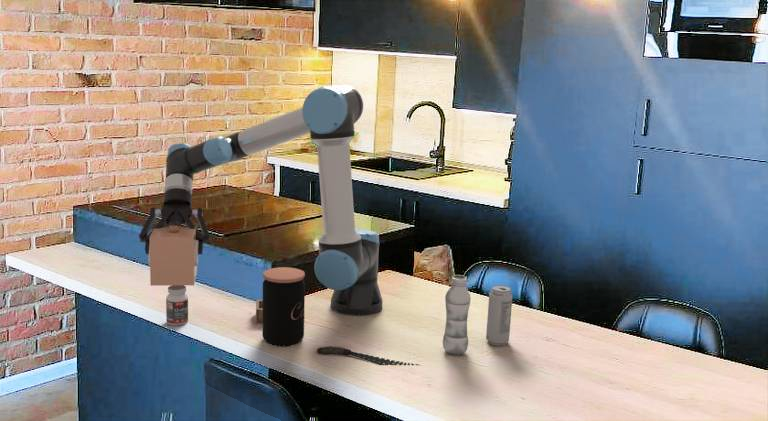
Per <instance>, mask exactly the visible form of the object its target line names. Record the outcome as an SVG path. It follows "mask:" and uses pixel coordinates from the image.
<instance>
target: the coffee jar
mask: <svg viewBox="0 0 768 421" xmlns="http://www.w3.org/2000/svg"><path fill="white" fill-rule="evenodd" d="M262 277H263V279H264V280H263V281H262V300H263V323H262V331H261V332H262V337H263V340H264V342H265V343H266V344H268V345H270V346H274V347H290V346H291V347H292V346H296V345H298V344H299V343H301V341H302V339H304V336H305V302H306V301H305V297H306V296H305V294H306V290H305V288H306V283H305V280H304V279H305V277H306V273H305V271H304V270H302V269H299V268H295V267H288V266H287V267H284V266H282V267H279V266H278V267H273V268H269V269H268V268H267V269H266V270H264V271H263V272H262Z"/></svg>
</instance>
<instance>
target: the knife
mask: <svg viewBox="0 0 768 421" xmlns="http://www.w3.org/2000/svg"><path fill="white" fill-rule="evenodd" d="M316 352H317V353H318V355H323V356H326V355H328V356H340V357H341V356H342V357H354V358H357V359H360V360H363V361H366V362H369V363H371V364H374V365H376V366H377V365H378V366H402V365H403V366H420V364H417V363H415V364H414V363H412V362H411V363H410V362H404V361H399V360H394V359H392V360H391V359H389V358H386V359H385V358H383V357H381V358H380V357H379V356H374V355H369V354H364V353H361V352H360V353H359V352H356V351H352V350H351V349H349V348H345V347H343V346H342V347H341V346H331V345H329V346H321V347H318V348H317V349H316Z"/></svg>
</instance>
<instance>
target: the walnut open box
mask: <svg viewBox="0 0 768 421" xmlns="http://www.w3.org/2000/svg"><path fill="white" fill-rule="evenodd" d="M255 324H263V299H256V300H255Z"/></svg>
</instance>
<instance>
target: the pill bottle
mask: <svg viewBox="0 0 768 421" xmlns="http://www.w3.org/2000/svg"><path fill="white" fill-rule="evenodd" d="M167 293H168V294H167V296H166V298H165V302H166V303H165V309H166V320H165V322H166V323H167V324H168V325H171V326H183V325H186V324H187V323H188V322H189V296H188V295H187V285H168V289H167Z"/></svg>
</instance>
